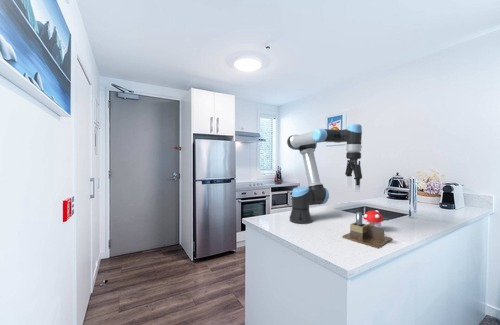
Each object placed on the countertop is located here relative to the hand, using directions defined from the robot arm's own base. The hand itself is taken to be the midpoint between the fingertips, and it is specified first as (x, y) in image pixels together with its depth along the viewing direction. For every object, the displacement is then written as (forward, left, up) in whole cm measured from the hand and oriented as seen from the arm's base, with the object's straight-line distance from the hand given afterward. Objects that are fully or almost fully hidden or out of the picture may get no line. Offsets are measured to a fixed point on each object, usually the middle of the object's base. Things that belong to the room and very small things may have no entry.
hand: (352, 189), depth 122 cm
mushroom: (+4, +17, -26) cm, 32 cm away
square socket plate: (+8, 0, -26) cm, 27 cm away
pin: (+5, -3, -25) cm, 26 cm away
